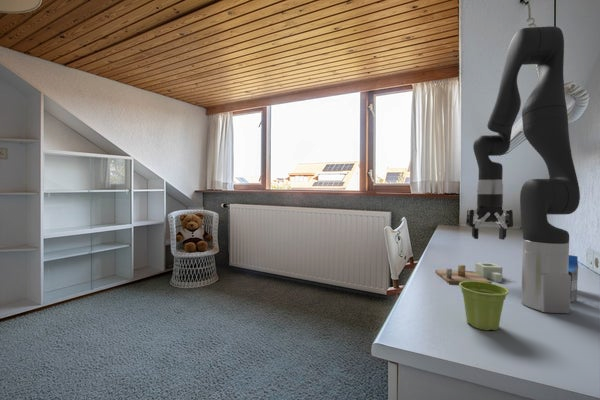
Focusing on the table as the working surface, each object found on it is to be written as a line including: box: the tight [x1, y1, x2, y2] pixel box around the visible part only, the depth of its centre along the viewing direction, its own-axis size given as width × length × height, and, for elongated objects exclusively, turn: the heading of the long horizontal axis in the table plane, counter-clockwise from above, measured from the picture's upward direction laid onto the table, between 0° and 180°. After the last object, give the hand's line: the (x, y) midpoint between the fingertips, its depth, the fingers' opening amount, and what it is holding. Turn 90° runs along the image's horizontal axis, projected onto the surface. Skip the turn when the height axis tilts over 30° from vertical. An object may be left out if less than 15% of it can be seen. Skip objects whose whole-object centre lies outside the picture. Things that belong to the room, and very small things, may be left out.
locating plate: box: [435, 264, 493, 285], centre depth 101 cm, size 13×13×4 cm
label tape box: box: [568, 254, 579, 303], centre depth 83 cm, size 9×4×12 cm, turn 27°
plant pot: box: [458, 281, 510, 331], centre depth 66 cm, size 9×9×9 cm
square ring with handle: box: [474, 262, 503, 283], centre depth 102 cm, size 10×6×4 cm, turn 173°
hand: (488, 238), depth 103 cm, fingers open, 8 cm apart
